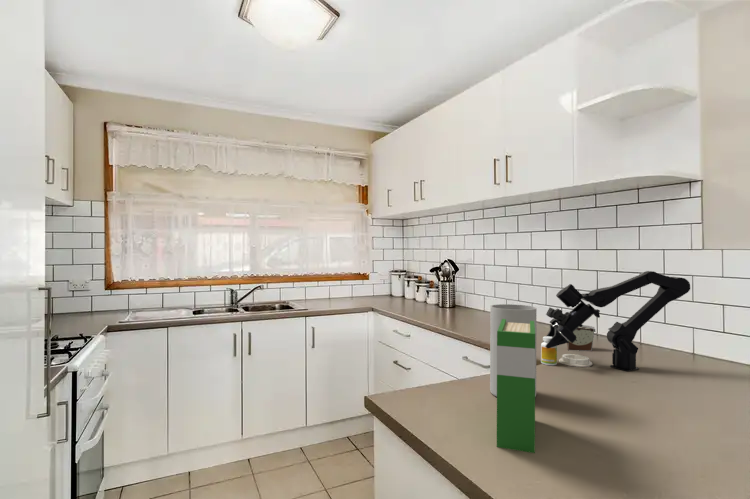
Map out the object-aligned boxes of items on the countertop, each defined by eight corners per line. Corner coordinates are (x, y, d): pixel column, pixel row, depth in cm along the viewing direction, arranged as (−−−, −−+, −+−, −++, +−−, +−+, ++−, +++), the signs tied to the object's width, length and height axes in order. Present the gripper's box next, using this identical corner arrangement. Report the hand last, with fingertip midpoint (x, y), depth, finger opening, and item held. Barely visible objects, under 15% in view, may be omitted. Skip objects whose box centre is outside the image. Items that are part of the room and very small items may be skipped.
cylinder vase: (506, 404, 110) (506, 310, 110) (481, 389, 122) (482, 304, 123) (545, 400, 114) (546, 309, 114) (518, 386, 126) (518, 303, 126)
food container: (589, 347, 178) (589, 324, 178) (595, 351, 172) (595, 327, 172) (559, 347, 179) (559, 324, 179) (564, 350, 173) (564, 326, 173)
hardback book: (501, 415, 102) (502, 318, 103) (533, 420, 100) (534, 320, 100) (496, 446, 86) (497, 331, 86) (534, 453, 83) (535, 333, 83)
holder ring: (599, 365, 150) (599, 359, 150) (577, 368, 146) (577, 362, 146) (573, 358, 160) (573, 352, 160) (552, 360, 156) (552, 355, 156)
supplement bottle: (558, 366, 148) (558, 339, 149) (542, 365, 149) (542, 338, 150) (555, 362, 154) (555, 336, 154) (539, 361, 155) (539, 335, 155)
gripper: (555, 297, 160) (525, 325, 162) (566, 303, 142) (531, 333, 144) (577, 319, 158) (546, 346, 161) (591, 327, 140) (556, 357, 142)
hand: (544, 345), depth 152 cm, fingers open, 6 cm apart
